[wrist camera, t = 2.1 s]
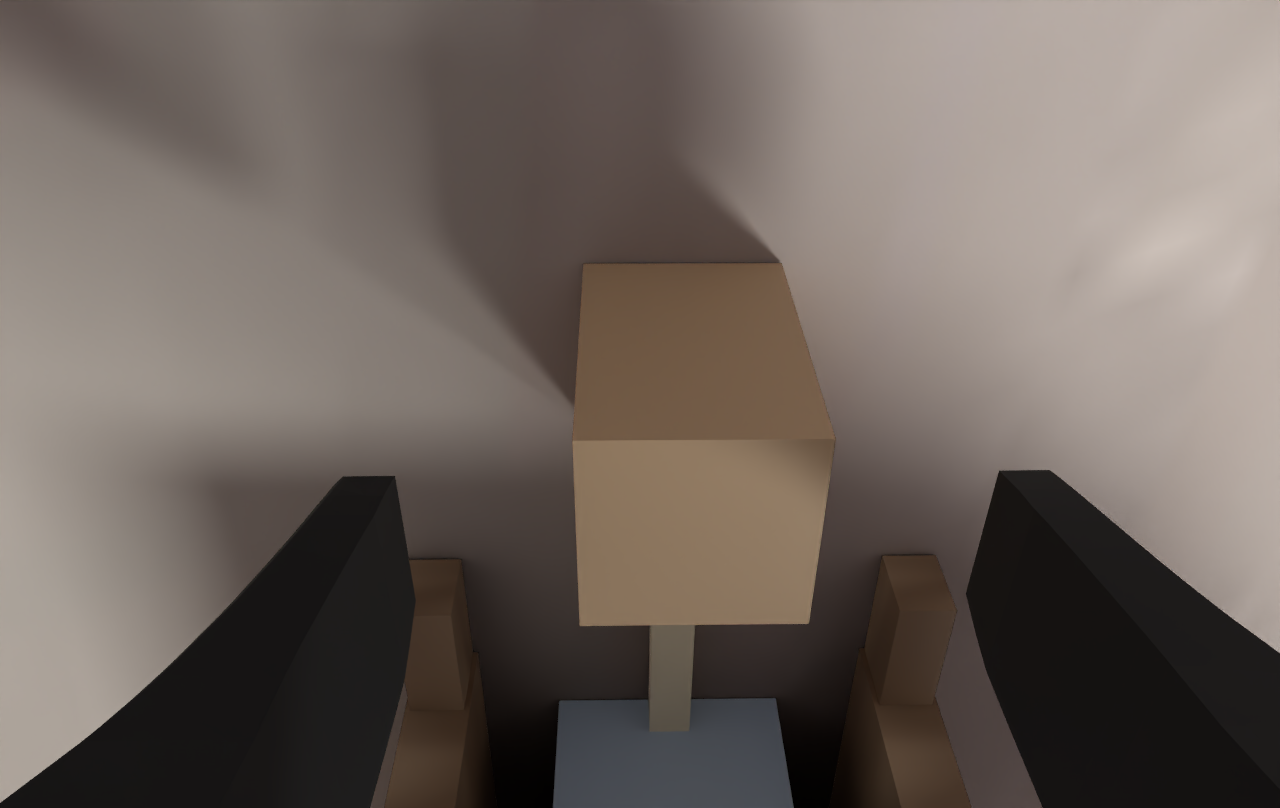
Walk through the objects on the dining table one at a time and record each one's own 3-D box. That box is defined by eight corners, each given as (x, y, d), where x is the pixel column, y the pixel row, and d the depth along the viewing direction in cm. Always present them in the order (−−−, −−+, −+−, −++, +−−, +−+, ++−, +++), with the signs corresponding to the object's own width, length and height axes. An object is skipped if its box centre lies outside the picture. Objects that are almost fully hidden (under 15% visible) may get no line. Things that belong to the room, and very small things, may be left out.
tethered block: (830, 262, 15) (901, 439, 11) (759, 825, 23) (787, 1033, 20) (533, 263, 15) (505, 441, 11) (566, 827, 23) (557, 1038, 19)
